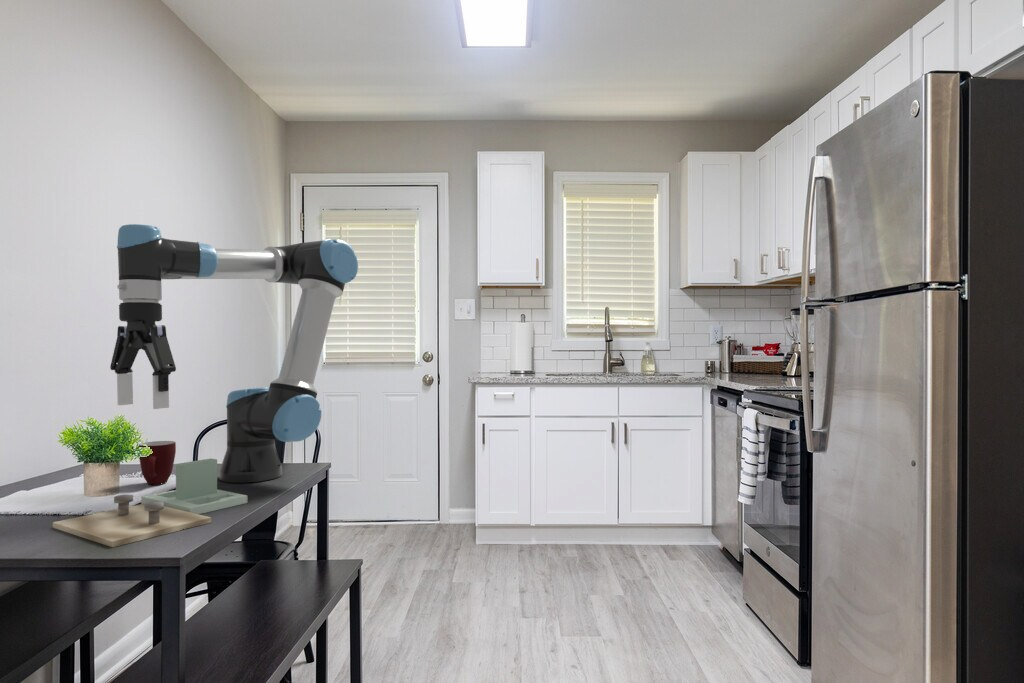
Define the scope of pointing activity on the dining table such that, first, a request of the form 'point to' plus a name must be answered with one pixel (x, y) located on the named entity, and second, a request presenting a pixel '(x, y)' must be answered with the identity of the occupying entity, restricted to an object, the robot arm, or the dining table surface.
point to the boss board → (130, 522)
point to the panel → (198, 501)
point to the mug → (158, 461)
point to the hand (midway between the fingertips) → (142, 406)
